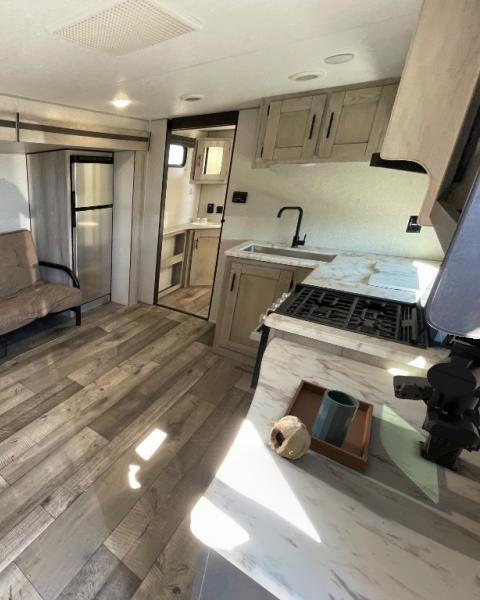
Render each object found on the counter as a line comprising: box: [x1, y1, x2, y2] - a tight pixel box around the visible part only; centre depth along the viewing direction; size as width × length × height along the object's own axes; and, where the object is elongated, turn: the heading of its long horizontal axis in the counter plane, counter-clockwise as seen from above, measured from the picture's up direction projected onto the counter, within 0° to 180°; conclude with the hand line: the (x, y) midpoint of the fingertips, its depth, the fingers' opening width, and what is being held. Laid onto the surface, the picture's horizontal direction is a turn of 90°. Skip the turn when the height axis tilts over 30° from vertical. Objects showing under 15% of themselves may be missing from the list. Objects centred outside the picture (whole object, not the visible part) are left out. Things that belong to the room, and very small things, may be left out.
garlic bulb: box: [268, 416, 311, 460], centre depth 78 cm, size 9×8×10 cm
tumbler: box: [311, 389, 359, 448], centre depth 80 cm, size 7×7×13 cm
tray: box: [283, 379, 375, 473], centre depth 89 cm, size 28×18×3 cm, turn 137°
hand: (429, 442), depth 66 cm, fingers open, 9 cm apart
